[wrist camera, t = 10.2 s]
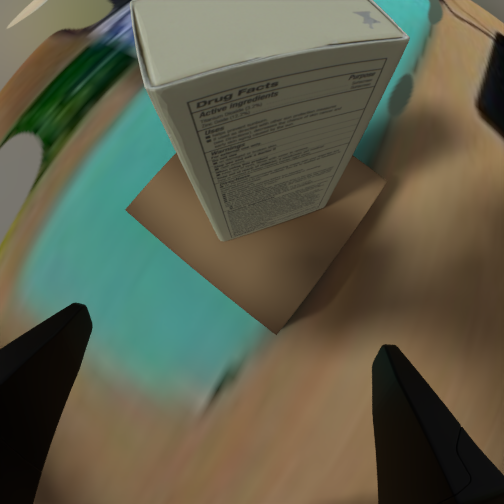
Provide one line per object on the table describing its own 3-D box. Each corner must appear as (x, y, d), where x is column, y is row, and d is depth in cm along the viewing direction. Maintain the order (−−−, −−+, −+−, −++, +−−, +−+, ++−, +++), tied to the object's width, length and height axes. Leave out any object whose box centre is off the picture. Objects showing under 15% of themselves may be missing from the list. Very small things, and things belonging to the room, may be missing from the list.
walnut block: (273, 332, 19) (276, 335, 16) (144, 226, 21) (125, 210, 18) (369, 201, 21) (387, 181, 18) (246, 116, 23) (244, 87, 19)
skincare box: (296, 145, 18) (331, -41, 6) (327, 211, 17) (421, 39, 5) (193, 177, 18) (125, -5, 6) (217, 249, 17) (143, 90, 5)
